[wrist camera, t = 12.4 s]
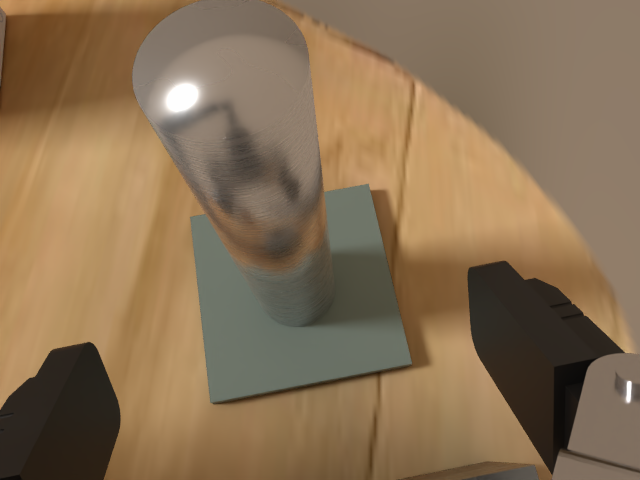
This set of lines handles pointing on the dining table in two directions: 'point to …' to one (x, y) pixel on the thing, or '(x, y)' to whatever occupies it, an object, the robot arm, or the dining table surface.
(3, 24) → the light bulb box
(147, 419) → the dining table surface
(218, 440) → the dining table surface
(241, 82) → the steel pin
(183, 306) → the dining table surface
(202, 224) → the mat
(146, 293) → the dining table surface
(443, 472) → the vise
